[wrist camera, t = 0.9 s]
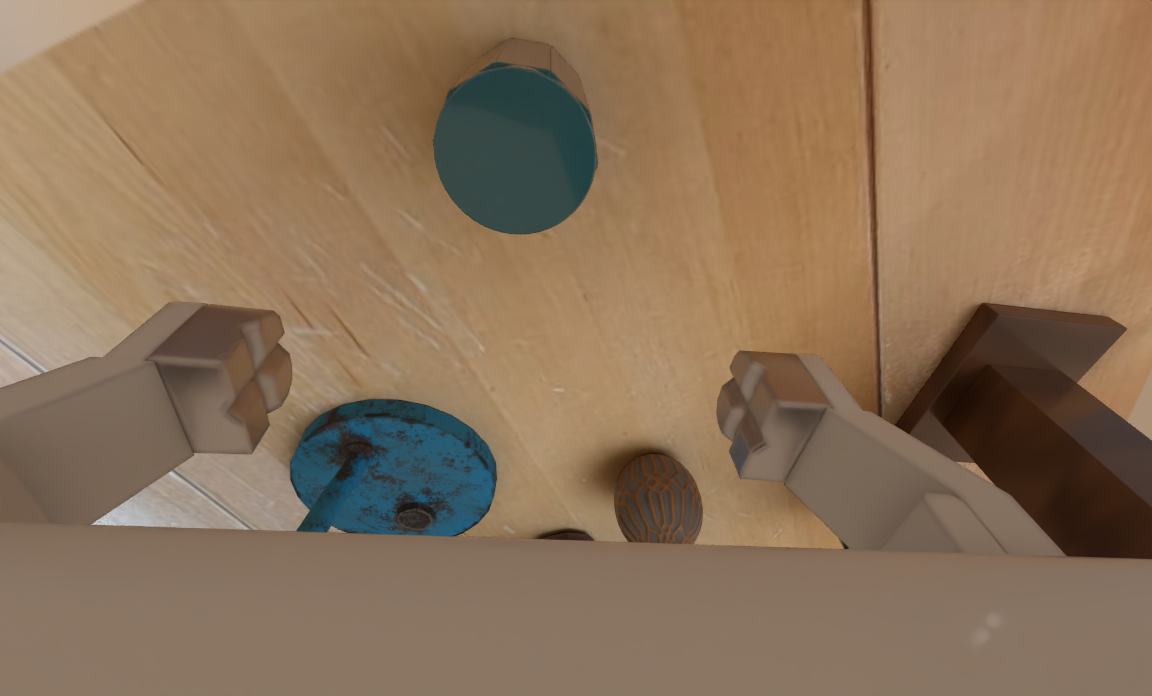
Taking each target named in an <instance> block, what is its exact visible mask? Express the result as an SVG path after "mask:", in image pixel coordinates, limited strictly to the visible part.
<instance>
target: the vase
mask: <svg viewBox="0 0 1152 696" xmlns="http://www.w3.org/2000/svg"><path fill="white" fill-rule="evenodd" d="M614 506H615V514H616V518H617V521H618V524H619V527H620V529H621V531H622V533H623V535H624V536H625V538H626V539H627V541H628V542H639V543H668V544H694V542H695V541H696V539H697V537H698V535H699V532H700V529H701V525H702V516H703V507H702V500H701V496H700V493H699V490H698V487H697V484H696V482H695V480H694V479H693V477H692V475H691V474H690V473H689V471H688V470H687V469H686V468H685V467H684V466H683V465H682V464H681V463H680V462H678V461H676V460H675V459H673V458H671V457H668V456H665V455H661V454H647V455H643V456H640V457H638V458H636V459H635V460H633V461H632V462H630V463H629V464H628V465H627V466H626V467H625V468H624V469H623V471H622V472H621V474H620V475H619V478H618V480H617V483H616V487H615V493H614Z"/></svg>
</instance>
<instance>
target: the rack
mask: <svg viewBox="0 0 1152 696" xmlns="http://www.w3.org/2000/svg"><path fill="white" fill-rule="evenodd" d="M1126 330H1127V328H1126V327H1124V326H1123V325H1121V324H1119V323H1118V322H1116V321H1114V320H1113V319H1111V318H1109V317H1102V316H1093V315H1084V314H1075V313H1066V312H1057V311H1049V310H1040V309H1031V308H1022V307H1013V306H1004V305H996V304H987V303H984V304H983V305H982V306H981V307H980V309H979V310H978V312H977V313H976V314H975V316H974V317H973V319H972V320H971V321H970V323H969V324H968V325H967V327H966V328H965V330H964V331H963V332H962V334H961V335H960V337H959V338H958V339H957V341H956V342H955V344H954V345H953V346H952V348H951V349H950V351H949V352H948V353H947V355H946V356H945V358H944V359H943V360H942V362H941V363H940V365H939V366H938V367H937V369H936V370H935V372H934V373H933V374H932V376H931V377H930V379H929V380H928V381H927V383H926V384H925V386H924V387H923V388H922V390H921V391H920V393H919V394H918V395H917V397H916V398H915V399H914V401H913V402H912V404H911V405H910V406H909V408H908V409H907V411H906V412H905V413H904V415H903V416H902V418H901V419H900V420H899V422H898V423H897V425H896V427H898V428H899V429H901V430H903V431H904V432H906V433H908V434H909V435H911V436H913V437H914V438H916V439H918V440H919V441H921V442H923V443H924V444H926V445H928V446H929V447H931V448H933V449H934V450H936V451H938V452H939V453H941V454H943V455H944V456H946V457H948V458H949V459H951V460H953V461H955V462H969V463H976V464H977V465H978V466H979V468H980V469H981V470H982V471H983V472H984V473H985V474H986V476H987V477H988V478H989V479H990V480H991V481H992V482H993V483H994V485H995V486H996V487H998V488H999V489H1001V490H1003V491H1004V492H1006V493H1008V494H1009V495H1011V496H1012V497H1013V498H1014V499H1015V500H1016V502H1017V503H1018V504H1019V505H1020V506H1021V507H1022V508H1023V509H1024V510H1025V511H1026V512H1027V514H1028V515H1029V516H1030V517H1031V518H1032V519H1033V520H1034V521H1035V522H1036V523H1037V524H1038V525H1039V527H1040V528H1041V529H1042V530H1043V531H1044V532H1045V533H1046V534H1047V535H1048V536H1049V537H1050V539H1051V540H1052V541H1053V542H1054V543H1055V544H1056V545H1057V546H1058V547H1059V548H1060V549H1061V550H1062V552H1063V553H1064V554H1065V555H1066V556H1069V557H1100V558H1131V559H1152V440H1150V439H1149V438H1148V437H1146V436H1145V435H1144V434H1142V433H1141V432H1140V431H1139V430H1137V429H1136V428H1135V427H1133V426H1132V425H1131V424H1129V423H1128V422H1127V421H1126V420H1124V419H1123V418H1122V417H1120V416H1119V415H1118V414H1116V413H1115V412H1114V411H1112V410H1111V409H1110V408H1109V407H1107V406H1106V405H1105V404H1103V403H1102V402H1101V401H1099V400H1098V399H1097V398H1095V397H1094V396H1093V395H1092V394H1090V393H1089V392H1088V391H1086V390H1085V389H1084V388H1082V387H1081V386H1080V385H1079V384H1077V382H1078V381H1079V380H1080V379H1081V378H1082V377H1083V376H1084V375H1085V374H1086V372H1087V371H1088V370H1089V369H1090V368H1091V367H1092V366H1093V365H1094V364H1095V363H1096V362H1097V361H1098V360H1099V359H1100V358H1101V357H1102V355H1103V354H1104V353H1105V352H1106V351H1107V350H1108V349H1109V348H1110V347H1111V346H1112V345H1113V344H1114V343H1115V342H1116V341H1117V340H1118V339H1119V337H1120V336H1121V335H1122V334H1123V333H1124V332H1125V331H1126Z"/></svg>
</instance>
